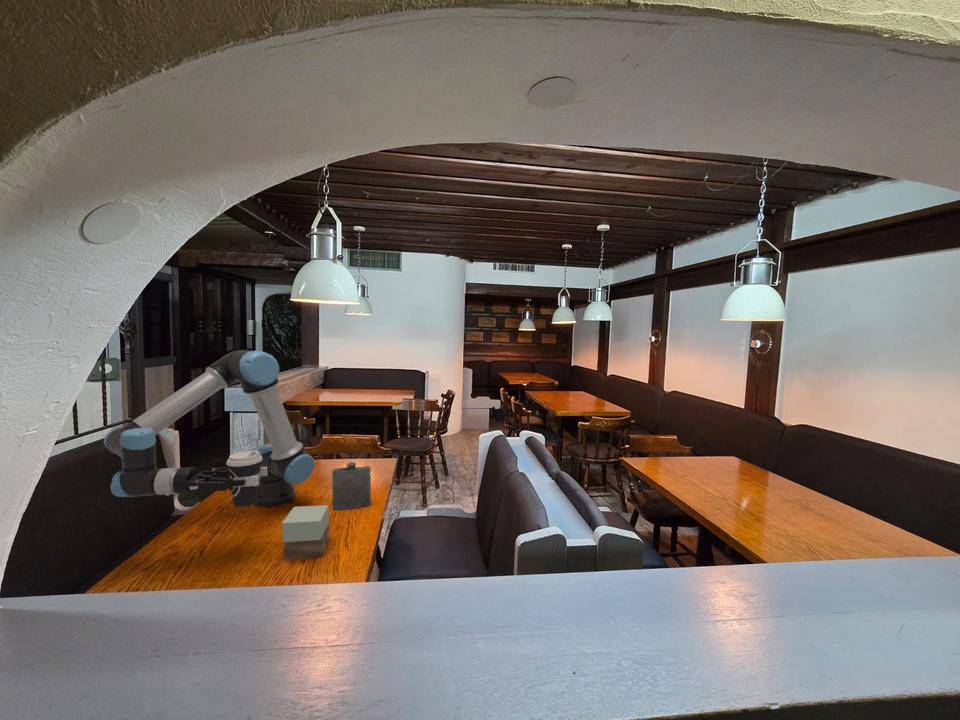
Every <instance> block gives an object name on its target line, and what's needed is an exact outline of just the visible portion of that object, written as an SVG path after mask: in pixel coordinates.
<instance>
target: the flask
mask: <svg viewBox="0 0 960 720" xmlns="http://www.w3.org/2000/svg"><path fill="white" fill-rule="evenodd" d="M356 465H357V463H356V462H348V463H347V464H346V466H347V467H346V466H345V467H340V468H339V467H338V468H337V467H336V468H333V469H332V472H331V473H332V510H333V509H334V510H333V511H346V510H356V509H357V510H358V509H363V508H369V507H371V506H372V505H371V502H372V498H371V497H372V495H371V494H372V493H371V491H372V490H371V485H372V484H371V470H372V469H371V466H369V465H364V466H356Z"/></svg>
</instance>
